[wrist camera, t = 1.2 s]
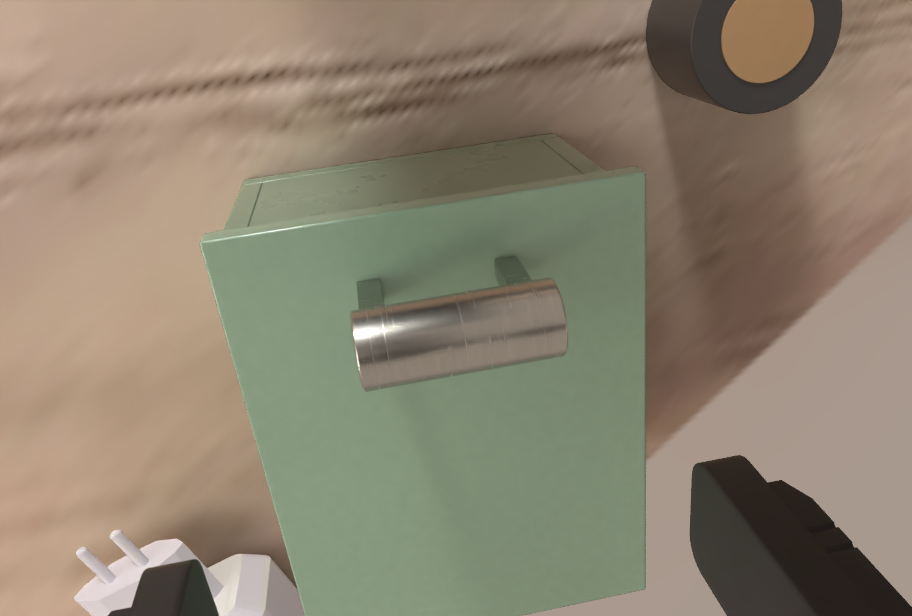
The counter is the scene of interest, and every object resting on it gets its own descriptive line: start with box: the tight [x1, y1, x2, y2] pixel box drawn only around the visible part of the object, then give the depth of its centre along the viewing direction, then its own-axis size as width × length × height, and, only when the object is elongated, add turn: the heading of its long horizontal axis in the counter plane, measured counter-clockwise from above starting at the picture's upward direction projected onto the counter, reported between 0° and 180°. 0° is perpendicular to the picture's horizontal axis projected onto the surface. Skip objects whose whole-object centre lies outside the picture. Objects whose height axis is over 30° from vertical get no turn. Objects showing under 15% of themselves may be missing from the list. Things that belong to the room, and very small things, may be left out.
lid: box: [199, 166, 646, 616], centre depth 22 cm, size 16×13×5 cm
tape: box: [646, 0, 842, 114], centre depth 27 cm, size 6×6×4 cm
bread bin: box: [224, 133, 606, 230], centre depth 29 cm, size 16×13×9 cm
